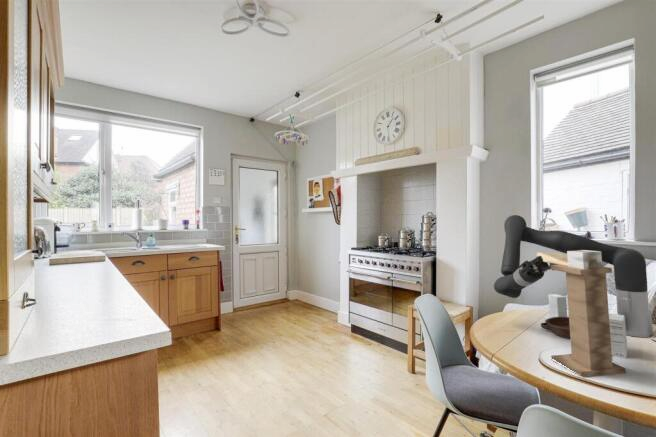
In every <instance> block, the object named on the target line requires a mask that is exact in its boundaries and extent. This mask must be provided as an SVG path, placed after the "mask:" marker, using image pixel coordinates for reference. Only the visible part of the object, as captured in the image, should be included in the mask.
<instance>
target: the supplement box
mask: <svg viewBox="0 0 656 437" xmlns="http://www.w3.org/2000/svg"><path fill="white" fill-rule="evenodd" d="M609 324H610V338H611V352H612V357H613V356H615V357H619V358H624V359H627V357H628V338H627V335H626V326H625V316H624V315H618V313H609Z"/></svg>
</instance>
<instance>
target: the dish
mask: <svg viewBox="0 0 656 437" xmlns="http://www.w3.org/2000/svg"><path fill="white" fill-rule="evenodd" d="M540 327H541V329H543V330H547V331H550V332H552V333H553V334H554V335H557V336H559V337H562V338H566V339H570V325H569V316H567V317H552V318H550V317H549V318H546V319H545V320H544V322H541V323H540Z"/></svg>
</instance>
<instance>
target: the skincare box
mask: <svg viewBox="0 0 656 437" xmlns="http://www.w3.org/2000/svg"><path fill="white" fill-rule="evenodd" d="M548 310H549V311H548V312H549V318H552V317H568V304H567V296H565V295H560V294H558V293H556V294H555V293H554V294H553V293H552V294H548Z"/></svg>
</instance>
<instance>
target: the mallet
mask: <svg viewBox="0 0 656 437" xmlns="http://www.w3.org/2000/svg"><path fill="white" fill-rule="evenodd" d="M563 254H564V253H553V252H546V251H545V252H543V251H542V252H536V257H538V256H542V259H543V262H547V263H549V264H550V263H555V264H561V265H567V266H568V267H574V268H580V269H593V268H602V267H603V261H602V256H601V252H600V251H589V250H578V251H567V254H564V255H563Z"/></svg>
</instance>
